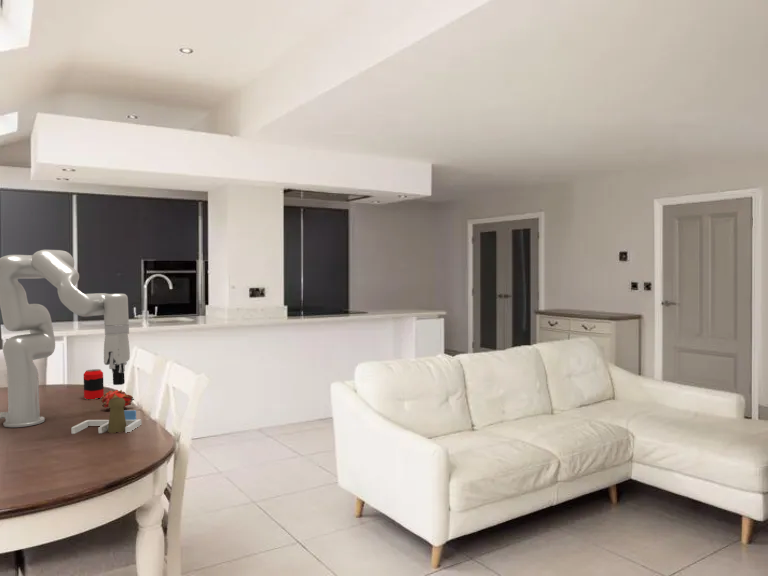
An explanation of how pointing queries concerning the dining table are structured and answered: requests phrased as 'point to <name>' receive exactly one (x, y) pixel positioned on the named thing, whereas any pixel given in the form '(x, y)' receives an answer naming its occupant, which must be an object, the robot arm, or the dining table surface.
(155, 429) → the dining table surface
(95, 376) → the soda can
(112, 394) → the dragon fruit
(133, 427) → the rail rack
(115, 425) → the olive rounded piece
